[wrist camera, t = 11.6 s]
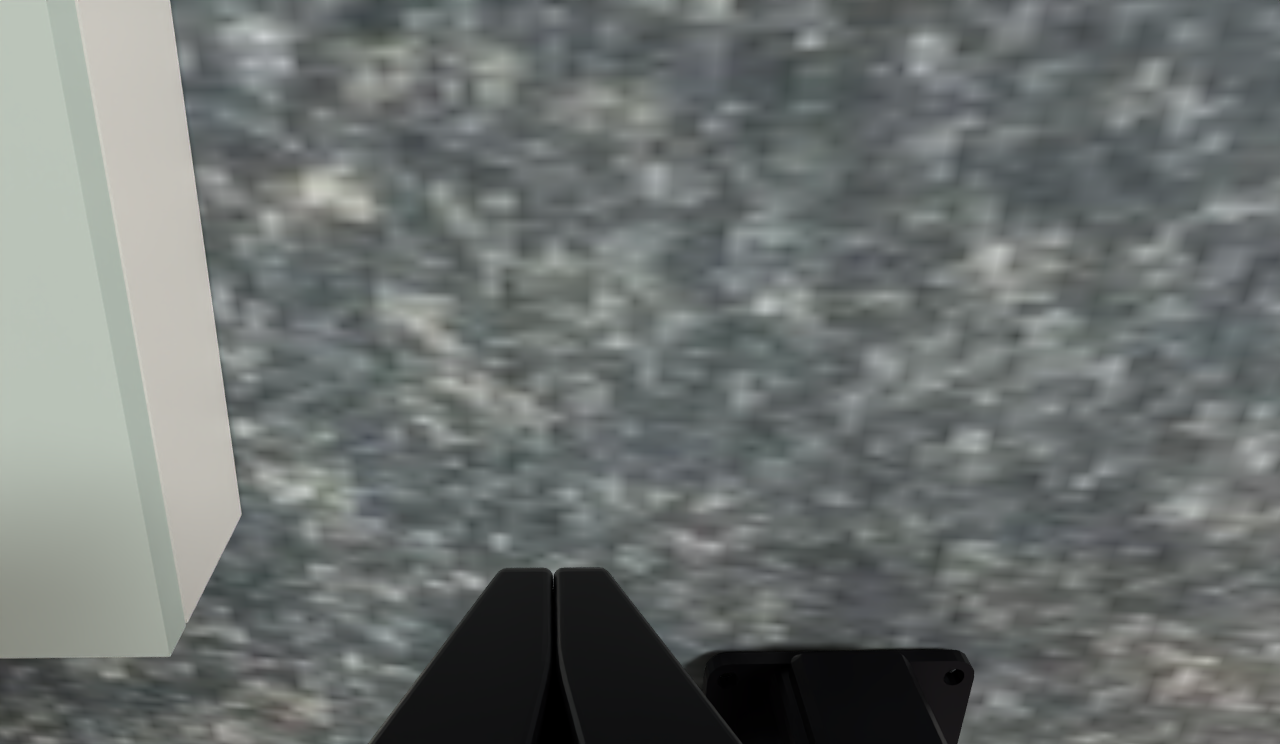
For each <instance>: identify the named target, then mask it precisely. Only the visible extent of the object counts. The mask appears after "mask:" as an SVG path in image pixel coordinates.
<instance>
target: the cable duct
mask: <svg viewBox="0 0 1280 744" xmlns="http://www.w3.org/2000/svg"><path fill="white" fill-rule="evenodd" d="M75 6H76V12H77V17H78V23H79V28H80V34H81V40H82V45H83V51H84V57H85V62H86V68H87V73H88V79H89V85H90V90H91V96H92V102H93V107H94V113H95V118H96V124H97V130H98V135H99V141H100V147H101V152H102V158H103V163H104V169H105V175H106V180H107V186H108V192H109V197H110V203H111V208H112V214H113V220H114V225H115V231H116V237H117V242H118V248H119V253H120V259H121V265H122V270H123V276H124V282H125V287H126V293H127V298H128V304H129V310H130V315H131V321H132V327H133V332H134V338H135V343H136V349H137V355H138V360H139V366H140V372H141V377H142V383H143V388H144V394H145V400H146V405H147V411H148V417H149V422H150V428H151V433H152V439H153V445H154V450H155V456H156V462H157V467H158V473H159V478H160V484H161V490H162V495H163V501H164V507H165V512H166V518H167V523H168V529H169V535H170V540H171V546H172V552H173V557H174V563H175V568H176V574H177V580H178V585H179V591H180V596H181V602H182V608H183V613H184V619H185V623H188V621H189V619H190V617H191V615H192V613H193V611H194V609H195V607H196V605H197V603H198V601H199V599H200V597H201V595H202V593H203V591H204V589H205V587H206V585H207V583H208V581H209V579H210V577H211V575H212V573H213V571H214V569H215V567H216V565H217V563H218V561H219V559H220V557H221V555H222V553H223V551H224V549H225V547H226V545H227V543H228V541H229V539H230V537H231V535H232V533H233V531H234V529H235V527H236V525H237V523H238V521H239V519H240V517H241V515H242V514H241V506H240V499H239V492H238V485H237V478H236V471H235V463H234V456H233V449H232V442H231V435H230V428H229V420H228V413H227V406H226V399H225V392H224V385H223V377H222V370H221V363H220V356H219V349H218V342H217V334H216V327H215V320H214V313H213V306H212V299H211V291H210V284H209V277H208V270H207V263H206V256H205V248H204V241H203V234H202V227H201V220H200V213H199V205H198V198H197V191H196V184H195V177H194V170H193V162H192V155H191V148H190V141H189V134H188V127H187V119H186V112H185V105H184V98H183V91H182V84H181V76H180V69H179V62H178V55H177V48H176V40H175V33H174V26H173V19H172V12H171V5H170V0H75Z"/></svg>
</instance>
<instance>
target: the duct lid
mask: <svg viewBox="0 0 1280 744" xmlns="http://www.w3.org/2000/svg"><path fill="white" fill-rule="evenodd" d="M185 627H186V625H185V619H184V613H183V608H182V602H181V596H180V591H179V585H178V580H177V574H176V568H175V563H174V557H173V552H172V546H171V540H170V535H169V529H168V523H167V518H166V512H165V507H164V501H163V495H162V490H161V484H160V478H159V473H158V467H157V462H156V456H155V450H154V445H153V439H152V433H151V428H150V422H149V417H148V411H147V405H146V400H145V394H144V388H143V383H142V377H141V372H140V366H139V360H138V355H137V349H136V343H135V338H134V332H133V327H132V321H131V315H130V310H129V304H128V298H127V293H126V287H125V282H124V276H123V270H122V265H121V259H120V253H119V248H118V242H117V237H116V231H115V225H114V220H113V214H112V208H111V203H110V197H109V192H108V186H107V180H106V175H105V169H104V163H103V158H102V152H101V147H100V141H99V135H98V130H97V124H96V118H95V113H94V107H93V102H92V96H91V90H90V85H89V79H88V73H87V68H86V62H85V57H84V51H83V45H82V40H81V34H80V28H79V23H78V17H77V12H76V6H75V0H0V658H92V657H170V656H171V654H172V652H173V650H174V648H175V646H176V645H177V643H178V641H179V639H180V637H181V635H182V633H183V631H184V629H185Z"/></svg>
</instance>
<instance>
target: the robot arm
mask: <svg viewBox="0 0 1280 744" xmlns="http://www.w3.org/2000/svg"><path fill="white" fill-rule="evenodd" d="M953 669H956V670H955V671H953V672H952V673H948V674H946V673H947V672H948V671H950V670H953ZM729 672H730V673H734V674H732V675H731V676H729V677H725V678H724V677H720V676H721V675H722V674H724V673H729ZM973 679H974V670H973V668H972V666H971V664H970V662H969V661H968V659H967V657H966V655H965V654H964V653H962V652H960V651H957V650H889V651H815V652H741V653H723V654H718V655H716V656H714V657H712V658H711V659H710V660H709V661H708V663H707V664H706V667H705V672H704V681H703V691H701V690H700V689H699V687H698V686H697V685H696V683H695V682H694V681H693V680H692V678H691V677H690V676H689V675H688V673H687V672H686V671H685V669H684V668H683V667H682V666H681V664H680V663H679V662H678V660H677V659H676V658H675V657H674V655H673V654H672V653H671V651H670V650H669V649H668V648H667V646H666V645H665V644H664V642H663V641H662V640H661V639H660V637H659V636H658V635H657V633H656V632H655V631H654V630H653V628H652V627H651V626H650V624H649V623H648V622H647V621H646V619H645V618H644V617H643V615H642V614H641V613H640V612H639V610H638V609H637V608H636V606H635V605H634V604H633V603H632V601H631V600H630V599H629V597H628V596H627V595H626V594H625V592H624V591H623V590H622V588H621V587H620V586H619V585H618V583H617V582H616V581H615V579H614V578H613V577H612V576H611V574H610V573H609V572H608V571H607V570H605V569H604V568H600V567H575V568H560V569H558V570H557V571H556V572H555V574H554V579H553V575H552V573H551V571H550V570H549V569H547V568H504V569H502V570H500V571H499V572H498V573H497V574H496V575H495V577H494V578H493V579H492V581H491V582H490V583H489V585H488V586H487V587H486V589H485V590H484V591H483V593H482V594H481V595H480V597H479V598H478V599H477V601H476V602H475V603H474V604H473V606H472V607H471V608H470V610H469V611H468V612H467V614H466V615H465V616H464V618H463V619H462V620H461V622H460V623H459V624H458V626H457V627H456V628H455V630H454V631H453V632H452V633H451V635H450V636H449V637H448V639H447V640H446V641H445V643H444V644H443V645H442V647H441V648H440V649H439V651H438V652H437V653H436V655H435V656H434V657H433V659H432V660H431V661H430V663H429V664H428V665H427V666H426V668H425V669H424V670H423V672H422V673H421V674H420V676H419V677H418V678H417V680H416V681H415V682H414V684H413V685H412V686H411V688H410V689H409V690H408V692H407V693H406V694H405V695H404V697H403V698H402V699H401V701H400V702H399V703H398V705H397V706H396V707H395V709H394V710H393V711H392V713H391V714H390V715H389V717H388V718H387V719H386V721H385V722H384V723H383V725H382V726H381V727H380V728H379V730H378V731H377V732H376V734H375V735H374V736H373V738H372V739H371V740H370V742H369V743H368V744H957V743H958V739H959V735H960V731H961V727H962V723H963V719H964V715H965V711H966V707H967V703H968V699H969V695H970V691H971V687H972V683H973Z"/></svg>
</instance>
